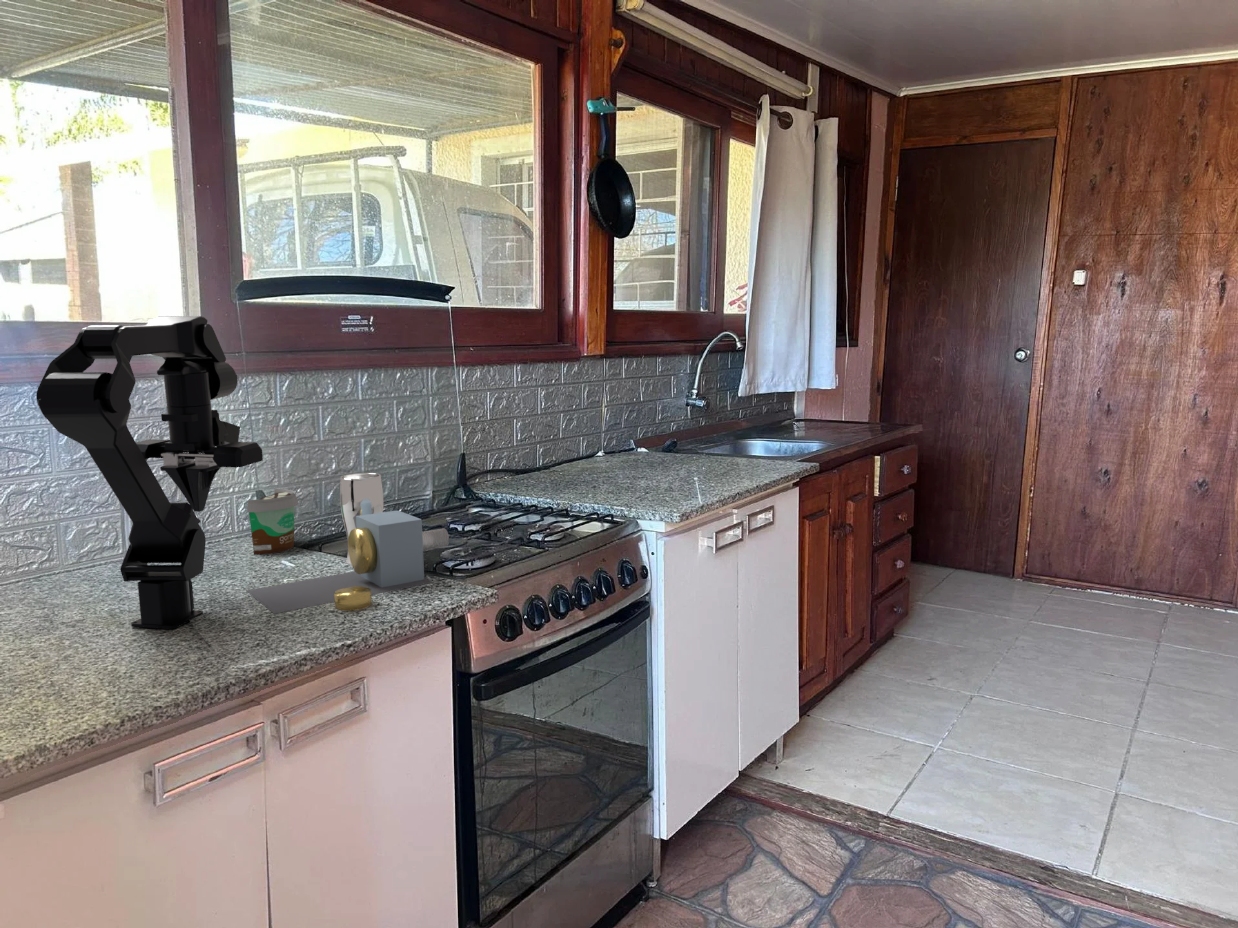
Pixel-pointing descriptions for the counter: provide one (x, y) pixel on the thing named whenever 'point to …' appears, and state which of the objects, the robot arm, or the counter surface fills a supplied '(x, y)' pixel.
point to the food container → (273, 522)
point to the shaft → (366, 553)
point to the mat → (317, 591)
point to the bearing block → (395, 547)
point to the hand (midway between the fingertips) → (199, 511)
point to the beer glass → (359, 498)
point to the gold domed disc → (352, 598)
